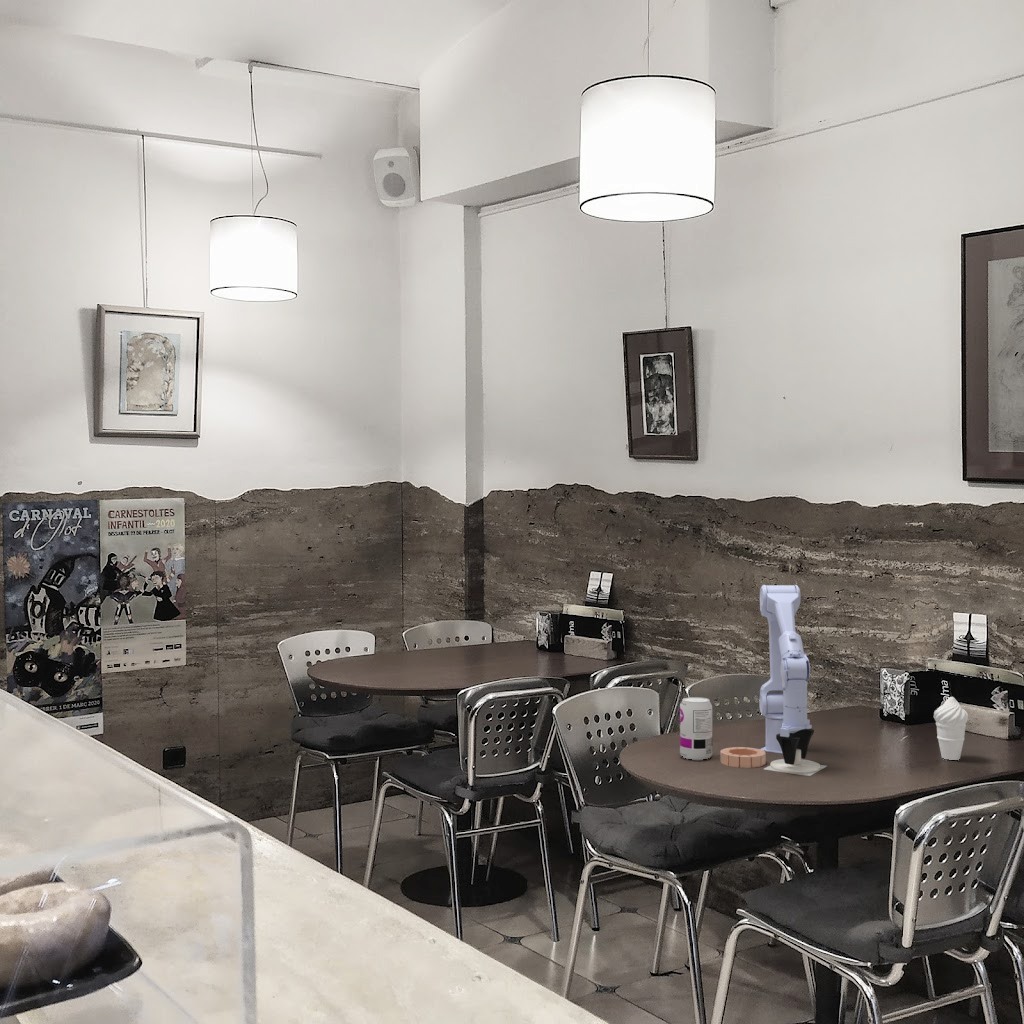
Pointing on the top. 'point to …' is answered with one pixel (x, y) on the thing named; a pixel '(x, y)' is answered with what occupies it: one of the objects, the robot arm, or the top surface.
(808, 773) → the mat
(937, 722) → the soft serve ice cream cone
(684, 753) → the supplement can
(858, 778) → the top surface
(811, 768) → the lid
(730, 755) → the bowl
